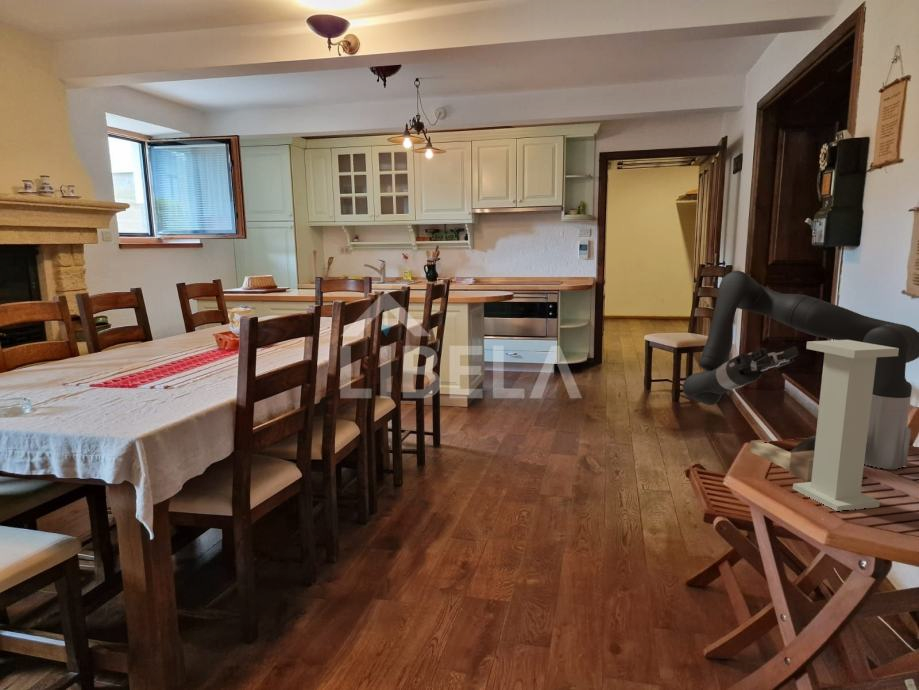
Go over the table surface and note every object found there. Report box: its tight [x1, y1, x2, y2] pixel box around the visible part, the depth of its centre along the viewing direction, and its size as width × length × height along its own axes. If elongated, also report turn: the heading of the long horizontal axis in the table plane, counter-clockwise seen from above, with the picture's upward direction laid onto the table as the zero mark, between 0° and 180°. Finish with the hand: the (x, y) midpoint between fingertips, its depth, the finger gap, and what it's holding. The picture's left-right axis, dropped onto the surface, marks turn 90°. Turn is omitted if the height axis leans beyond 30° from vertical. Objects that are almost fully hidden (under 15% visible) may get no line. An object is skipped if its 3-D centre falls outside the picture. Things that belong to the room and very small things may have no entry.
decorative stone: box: [790, 434, 816, 453], centre depth 139 cm, size 17×6×4 cm, turn 127°
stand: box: [792, 339, 899, 512], centre depth 112 cm, size 11×10×32 cm
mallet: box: [749, 439, 814, 482], centre depth 132 cm, size 19×6×5 cm, turn 13°
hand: (781, 350), depth 132 cm, fingers open, 8 cm apart
